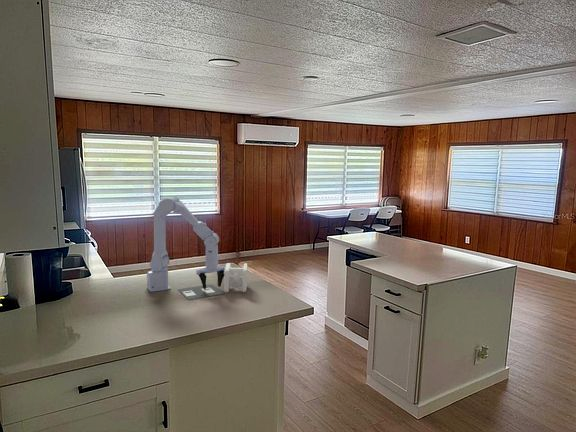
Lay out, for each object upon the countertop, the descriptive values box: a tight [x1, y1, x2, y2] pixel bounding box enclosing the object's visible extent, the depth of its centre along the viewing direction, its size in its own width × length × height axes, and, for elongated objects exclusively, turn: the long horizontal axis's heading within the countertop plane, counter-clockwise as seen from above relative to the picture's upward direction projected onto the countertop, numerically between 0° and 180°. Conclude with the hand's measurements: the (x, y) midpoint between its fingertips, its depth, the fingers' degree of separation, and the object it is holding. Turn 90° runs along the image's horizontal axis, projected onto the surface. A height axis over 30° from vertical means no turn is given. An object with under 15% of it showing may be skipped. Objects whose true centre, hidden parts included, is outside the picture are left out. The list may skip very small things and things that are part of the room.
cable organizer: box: [223, 262, 248, 294], centre depth 187 cm, size 15×11×12 cm
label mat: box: [177, 283, 225, 301], centre depth 184 cm, size 17×16×1 cm
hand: (211, 287), depth 186 cm, fingers open, 7 cm apart
